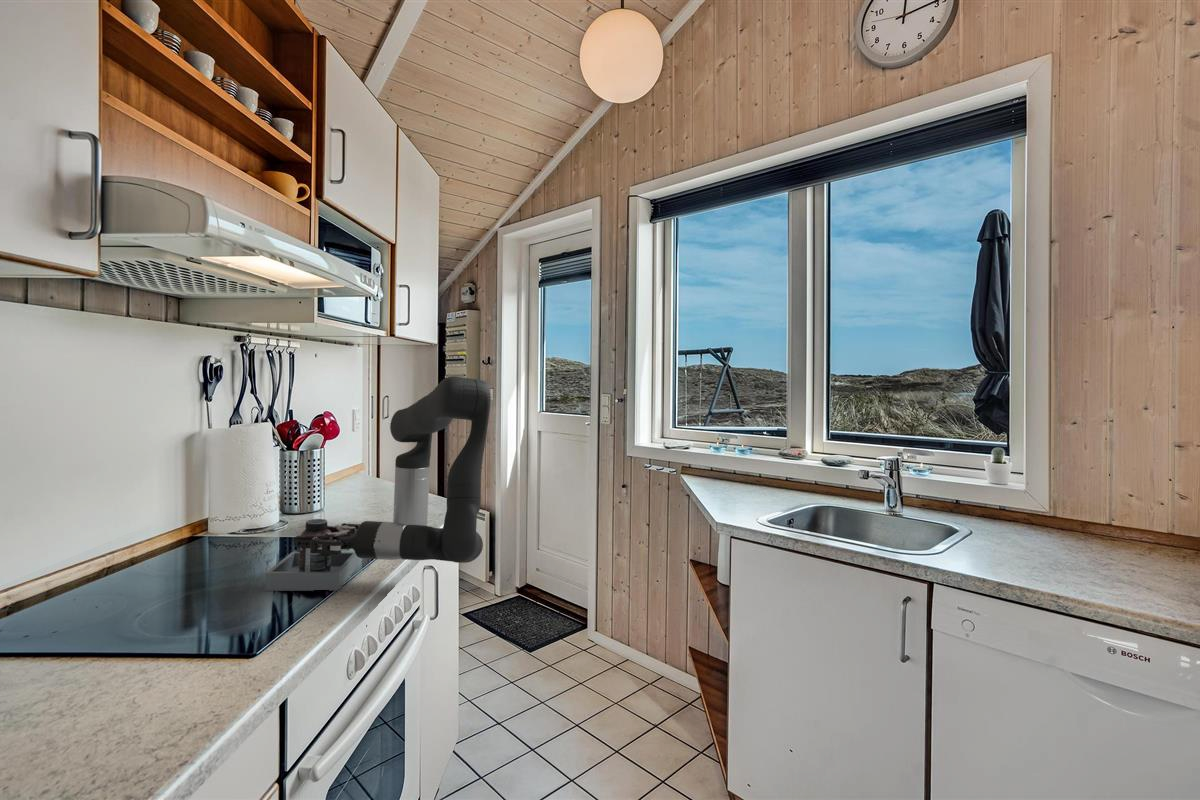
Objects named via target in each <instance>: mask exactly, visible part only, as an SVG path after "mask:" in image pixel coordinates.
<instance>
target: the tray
mask: <svg viewBox="0 0 1200 800" xmlns="http://www.w3.org/2000/svg"><path fill="white" fill-rule="evenodd" d="M299 556H300V551H291V552H290V553H289V554H287V556H285V557H284V558H282V560H280V561H278V562H277V563H276V564H275V565H274V566H272V567H271V568H270V569H269V570H268V571H266V572H265V576H264V577H265V578H264V581H265V582H264V591H265V592H269V591H270V592H274V591H275V592H278V591H279V592H281V591H282V592H284V591H287V592H288V591H289V592H290V591H291V592H294V591H296V592H297V591H299V592H301V591H303V592H304V591H305V592H307V591H311V592H312V591H313V592H314V590H329V591H340V590H341V588H342V587H343V586H344V585H345V584H344V583H346V582H347V581H348V580H349V579H350V577H351V576H352V575H353V574H354V573H355V571H356V570H357V569H358V565H359V564H358V562H359V561H358V560H359V557H357V555H356V554H355V551H341V554H339V555H336V554H331V571H330V572H299ZM356 568H357V569H356ZM355 569H356V570H355ZM354 570H355V571H354ZM353 572H354V573H353ZM352 573H353V574H352ZM351 574H352V575H351ZM350 575H351V576H350ZM348 578H349V579H348ZM347 579H348V580H347ZM346 580H347V581H346ZM345 581H346V582H345ZM343 584H344V585H343ZM342 585H343V586H342ZM341 586H342V587H341ZM339 589H340V590H339Z"/></svg>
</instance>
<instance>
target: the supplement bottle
mask: <svg viewBox="0 0 1200 800" xmlns="http://www.w3.org/2000/svg"><path fill="white" fill-rule="evenodd" d="M327 526H328V520H327V519H324V518H313V519H312V518H311V519H309V520H306V521H305V526H304V527H305V529H304V530H303V531H302V532H301V533H300V535H299V536H311V537H315V536H317V537H318V536H325V534H326V533H331V531H330V530H328V529H327V528H326V527H327ZM330 540H332V537H331V538H330ZM319 546H322V544H319ZM299 552H300V556H299V572H330V571H331V554H318V553H310V548H299Z"/></svg>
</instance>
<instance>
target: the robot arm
mask: <svg viewBox="0 0 1200 800" xmlns="http://www.w3.org/2000/svg"><path fill="white" fill-rule="evenodd" d="M491 395H492V394H491V388H490V386H489V384H488V382H487V381H485V380H481V379H478V378H476V379H475V378H469V377H461V376H455V375H454V376H447V377H445V378H443V379H442V380H440V382H439V383H438V384H437V386H436V387H435V388H434V389H433V390H432V391H430V392H429V393H428V394H427V395H425V396H423V397H421V398H420V399H419V400H417V401H416V402H415V403H412V404H411V405H409V406H408V407H405V408H402V409H398V410H397V411H395V412H394V413H393V415H392V416H391V417H392V418H391V421H390V424H389V430H390V433H391V436H392V438H393V440H395V441H396V442H398V443H416V445H415V446H414V447H413V448H411V449H410V450H408V451H406V452H403V453H401V454H398V455H397V456H396V457H395V460H394V461H395V463H394V465H395V466H394V491H393V492H394V495H393V517H392V522H390V521H374V520H364V521H363V522H361V523H360V524H359V523H345V522H343V523H341V525H339V524H337V525H334V526H332V525H331V526H329V525H327V527H326V528H327V529H328V530H330V531H331V533H326V534H325V536H318V537H317V536H315V537H311V536H300V535H297V536H295V537H294V538H293V539H294V540H293V547H294V548H296V549H297V548H298V549H300V548H310V553H318V554H336V555H339V554H341V552H348V551H349V550H351V549H352V550H353V552H355V554H356V555H357V557H358V559H367V560H368V559H370V560H371V559H372V560H384V561H387V560H388V561H397V560H408V561H427V560H430V561H431V560H435V561H445V562H451V563H456V564H457V563H458V564H459V563H461V564H462V563H463V564H465V563H466V564H467V563H471V562H473V561H475V560H476V559H477V558H478V557H479V556H480V554H482V551H483V549H484V542H483V537H482V536H481V535H480V534H479V532H477V518H478V514H479V513H480V510H481V502H482V501H481V499H482V468H483V467H482V466H483V459H484V453H485V452H484V451H485V446H486V441H487V433H488V429H489V428H488V427H489V421H490V420H489V419H490V410H491V405H492V404H491V402H492V400H491V398H492V396H491ZM453 419H454V420H456V419H457V420H463V421H464V420H465V421H466V420H468V421H471V424H470V431H469V435H468V438H467V440H466V442H465V444H464V446H463V447H462V449H461V450H460V452H459V453H458V455H457V456H456V458H455V459H454V460H453V462H452V464H451V466H450V468H449V471H448V475H447V481H446V482H447V483H446V512H445V516H444V520H443V521H444V522H443V527H433V526H429V525H428V516H429V515H428V514H429V491H430V490H429V489H430V466H431V465H430V464H431V463H430V461H431V456H432V455H431V453H432V441H433V434H434V433H437V432H439V431H442V430H444V429H446V428H447V427H448V426H449V425H450V424H451V423H452V421H453ZM331 537H332V540H330V538H331ZM319 544H322V546H319Z"/></svg>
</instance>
